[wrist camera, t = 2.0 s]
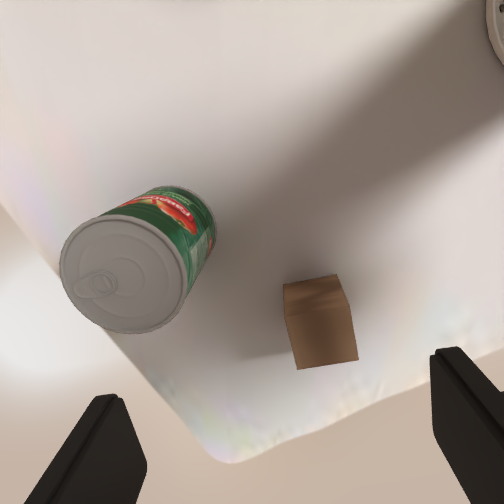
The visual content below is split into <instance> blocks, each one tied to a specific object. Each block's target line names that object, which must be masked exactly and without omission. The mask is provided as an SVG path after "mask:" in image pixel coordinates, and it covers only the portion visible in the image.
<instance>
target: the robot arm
mask: <svg viewBox="0 0 504 504" xmlns="http://www.w3.org/2000/svg"><path fill="white" fill-rule="evenodd" d="M499 7H500V8H501V12H500V10H499ZM486 22H487V28H488V34H489V38H490V41H491V43H492V46H493V48H494V51H495V53H496V55H497V56H498V58H499V59H500V61H501V62H502V64H503V65H504V0H486ZM430 381H431V401H432V425H433V432H434V436H435V438H436V441H437V443H438V445H439V447H440V448H441V450H442V452H443V454H444V456H445V457H446V459H447V461H448V463H449V464H450V466H451V468H452V470H453V472H454V474H455V476H456V477H457V479H458V481H459V483H460V485H461V486H462V488H463V490H464V491H465V494H466V495H467V497H468V499H469V501H470V503H471V504H504V391H503V392H500V391H499V390H498V389H497V388H496V387H495V386H494V385H493V384H492V382H491V381H490V380H489V379H488V378H487V377H486V376H485V375H484V374H483V372H481V370H480V369H479V368H478V367H477V366H476V365H475V364H474V363H473V361H472V360H471V359H470V358H469V357H468V356H467V355H466V354H465V353H464V352H463V350H462V349H461V348H459V347H457V346H456V347H448V348H441V349H437V350H436V351H435V355H431V356H430ZM146 473H147V461H146V458H145V456H144V453H143V450H142V448H141V445H140V443H139V440H138V437H137V435H136V432H135V430H134V427H133V424H132V422H131V419H130V416H129V414H128V411H127V409H126V406H125V403H124V401H123V399H122V398H118V396H117V395H116V394H107V395H100V396H96V397H95V398H94V399H93V400H92V402H91V403H90V404H89V406H88V407H87V409H86V411H85V412H84V413H83V415H82V417H81V418H80V420H79V421H78V423H77V424H76V426H75V427H74V429H73V430H72V432H71V433H70V435H69V436H68V438H67V439H66V441H65V442H64V444H63V445H62V447H61V448H60V450H59V451H58V453H57V454H56V456H55V457H54V459H53V461H52V462H51V463H50V465H49V466H48V468H47V470H46V471H45V472H44V474H43V475H42V477H41V479H40V480H39V482H38V483H37V485H36V486H35V488H34V489H33V491H32V492H31V494H30V495H29V497H28V498H27V500H26V501H25V503H24V504H136V501H137V498H138V495H139V493H140V490H141V487H142V485H143V482H144V479H145V476H146Z"/></svg>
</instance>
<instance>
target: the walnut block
mask: <svg viewBox="0 0 504 504" xmlns="http://www.w3.org/2000/svg"><path fill="white" fill-rule="evenodd" d="M283 293H284V315H285V321H286V325H287V329H288V334H289V338H290V342H291V346H292V350H293V354H294V358H295V362H296V366H297V370H300V369H306V368H312V367H319V366H325V365H331V364H337V363H344V362H350V361H356V360H359V358H358V352H357V346H356V340H355V335H354V329H353V323H352V317H351V311H350V306H349V303H348V301H347V298H346V296H345V294H344V291H343V289H342V286H341V284H340V282H339V279H338V277H337V274H336V275H331V276H326V277H321V278H316V279H311V280H306V281H301V282H295V283H290V284H285V285H283Z"/></svg>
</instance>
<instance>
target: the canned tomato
mask: <svg viewBox="0 0 504 504" xmlns="http://www.w3.org/2000/svg"><path fill="white" fill-rule="evenodd" d="M216 232H217V231H216V223H215V219H214V216H213V214H212V212H211V210H210V208H209V207H208V205H207V204H206V203H205V202H204V200H203V199H201V198H200V197H199V196H198V195H197V194H195V193H193V192H192V191H190V190H188V189H185V188H182V187H177V186H161V187H157V188H154V189H152V190H150V191H148V192H146V193H145V194H142V195H140V196H138V197H136V198H134V199H132V200H130V201H128V202H126V203H124V204H122V205H120V206H118V207H116V208H114V209H112V210H110V211H108V212H106V213H104V214H102V215H100V216H98V217H96V218H92V219H91V220H89V221H87V222H85V223H83V224H81V225H80V226H79V227H78V228H76V229H75V230H74V231H73V232H72V233H71V235H70V236H69V237H68V239H67V240H66V241H65V244H64V246H63V249H62V251H61V256H60V262H59V264H60V276H61V280H62V284H63V287H64V289H65V291H66V293H67V295H68V297H69V299H70V300H71V302H72V303H73V304H74V306H75V307H76V308H77V309H78V310H79V311H80V312H81V313H82V314H83V315H84V316H85V317H87V318H88V319H89V320H91V321H92V322H93V323H95V324H97V325H99V326H101V327H103V328H105V329H108V330H111V331H114V332H118V333H124V334H141V333H146V332H151V331H153V330H156V329H158V328H161V327H162V326H164V325H165V324H167V323H168V322H170V321H171V320H172V319H173V317H174V316H175V315H176V314H177V313H178V312H179V310H180V308H181V307H182V305H183V303H184V300H185V298H186V296H187V294H188V293H189V291H190V289H191V287H192V285H193V283H194V282H195V280H196V278H197V276H198V274H199V272H200V270H201V269H202V267H203V265H204V263H205V261H206V259H207V258H208V256H209V254H210V253H211V251H212V249H213V247H214V244H215V241H216Z"/></svg>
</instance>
